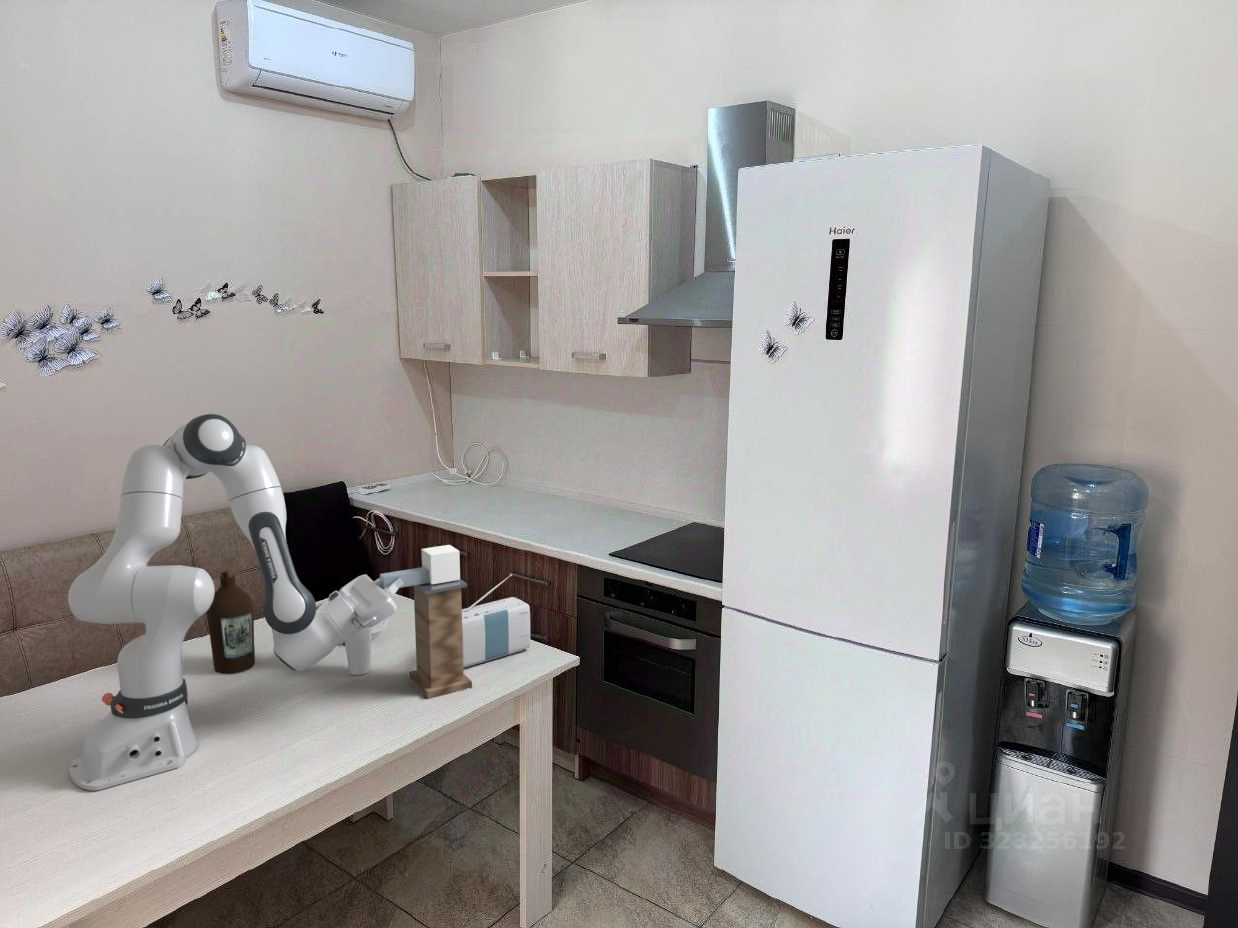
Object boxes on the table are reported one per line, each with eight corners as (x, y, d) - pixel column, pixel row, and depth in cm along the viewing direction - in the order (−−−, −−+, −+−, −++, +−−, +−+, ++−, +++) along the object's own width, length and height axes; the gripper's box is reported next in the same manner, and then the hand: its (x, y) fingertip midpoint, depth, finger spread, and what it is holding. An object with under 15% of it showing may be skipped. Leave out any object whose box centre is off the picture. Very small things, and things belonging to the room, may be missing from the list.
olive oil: (205, 665, 212) (196, 570, 207) (248, 653, 219) (241, 561, 214) (220, 679, 204) (211, 580, 199) (264, 666, 211) (257, 571, 207)
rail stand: (427, 698, 196) (424, 592, 191) (408, 677, 206) (405, 576, 201) (472, 687, 201) (469, 583, 196) (451, 667, 212) (448, 568, 207)
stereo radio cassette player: (461, 672, 210) (459, 596, 206) (445, 661, 216) (443, 587, 212) (532, 651, 223) (531, 579, 219) (515, 641, 229) (514, 571, 225)
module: (386, 592, 189) (385, 562, 188) (378, 584, 194) (377, 555, 193) (460, 579, 199) (459, 550, 197) (450, 572, 203) (449, 544, 202)
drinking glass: (356, 679, 205) (353, 621, 202) (339, 672, 209) (336, 614, 206) (379, 670, 210) (377, 613, 207) (362, 663, 214) (360, 607, 211)
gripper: (351, 620, 178) (406, 579, 183) (327, 592, 195) (377, 555, 200) (367, 641, 181) (420, 601, 186) (342, 612, 198) (391, 575, 203)
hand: (398, 577), depth 193 cm, fingers closed on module, 3 cm apart
